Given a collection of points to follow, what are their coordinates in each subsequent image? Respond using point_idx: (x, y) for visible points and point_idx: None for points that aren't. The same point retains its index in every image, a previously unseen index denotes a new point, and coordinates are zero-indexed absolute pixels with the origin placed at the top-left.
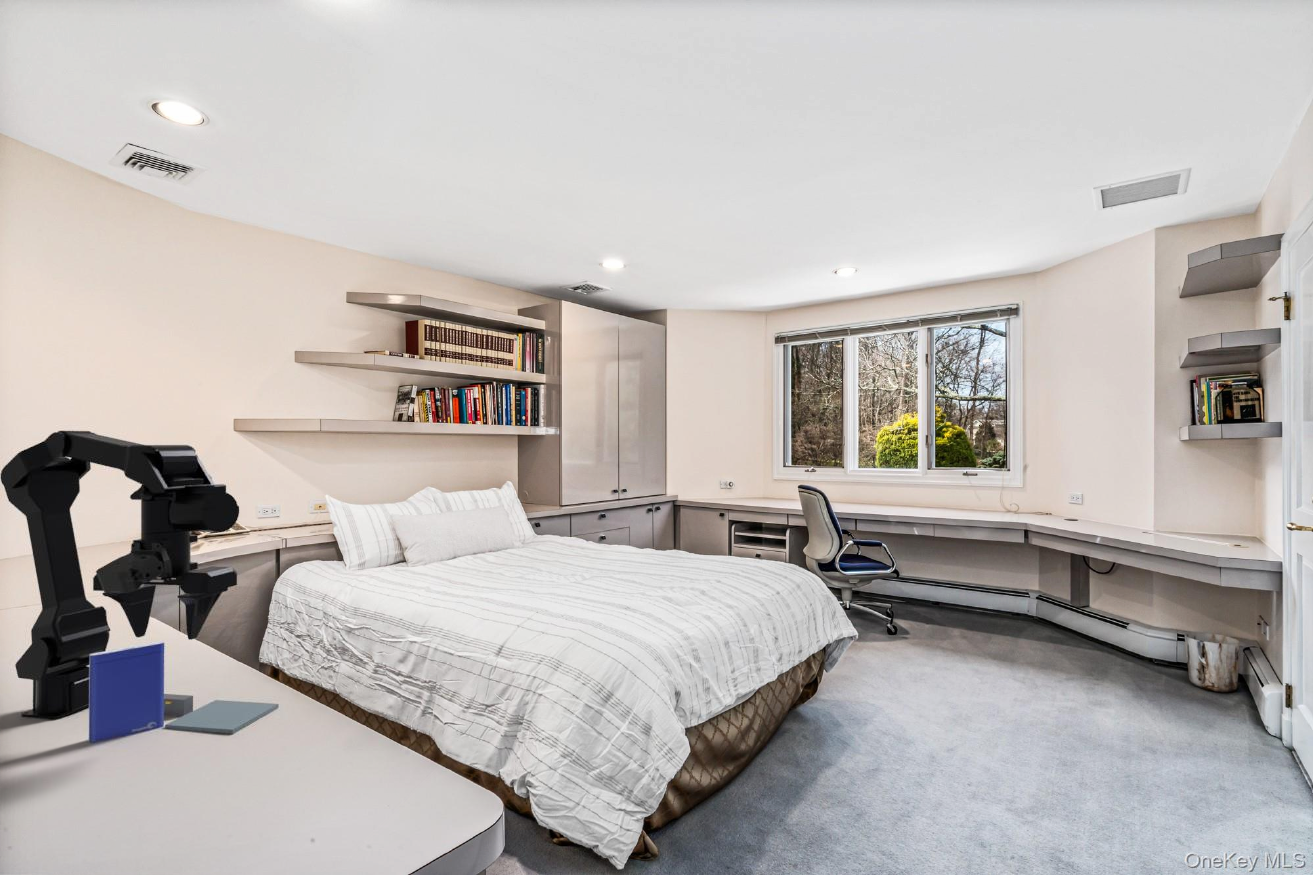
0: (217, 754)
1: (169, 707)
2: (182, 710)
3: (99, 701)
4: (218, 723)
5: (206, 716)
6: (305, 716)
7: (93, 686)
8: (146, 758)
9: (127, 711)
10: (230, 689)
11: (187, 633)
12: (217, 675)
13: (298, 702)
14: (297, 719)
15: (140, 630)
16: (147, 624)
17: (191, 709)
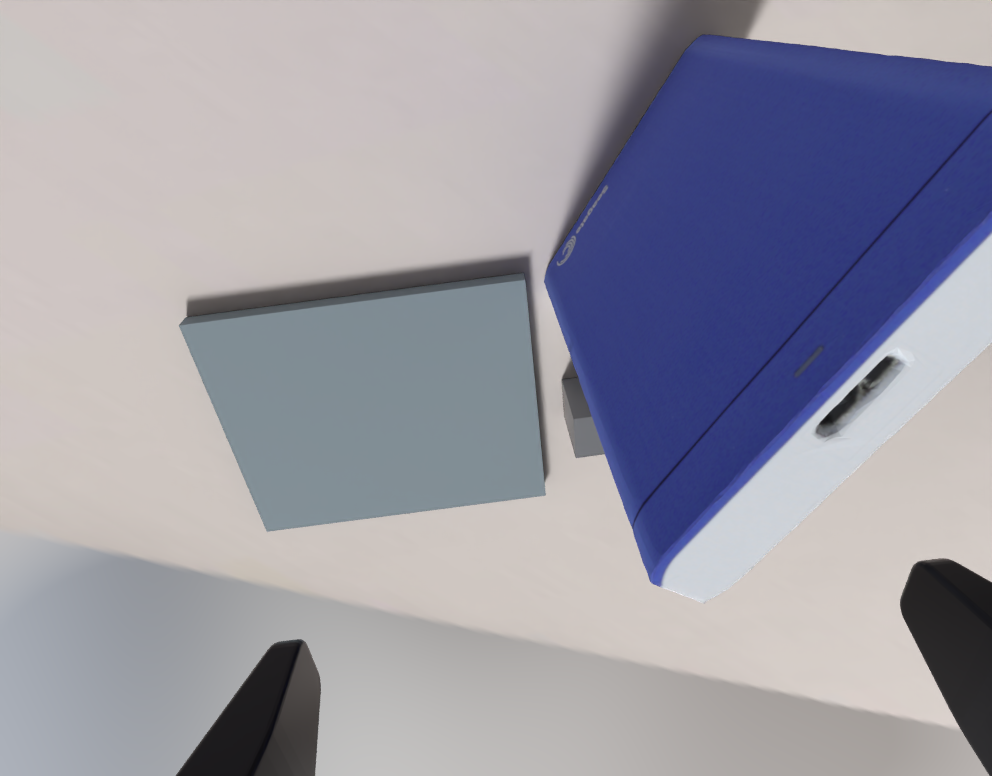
0: (15, 145)
1: None
2: (572, 391)
3: (772, 90)
4: (308, 351)
5: (428, 384)
6: (89, 497)
7: (863, 70)
8: (292, 10)
9: (646, 195)
10: (605, 573)
11: (277, 693)
12: (756, 630)
13: (248, 565)
14: (88, 473)
15: (956, 632)
16: (963, 725)
17: (566, 417)
